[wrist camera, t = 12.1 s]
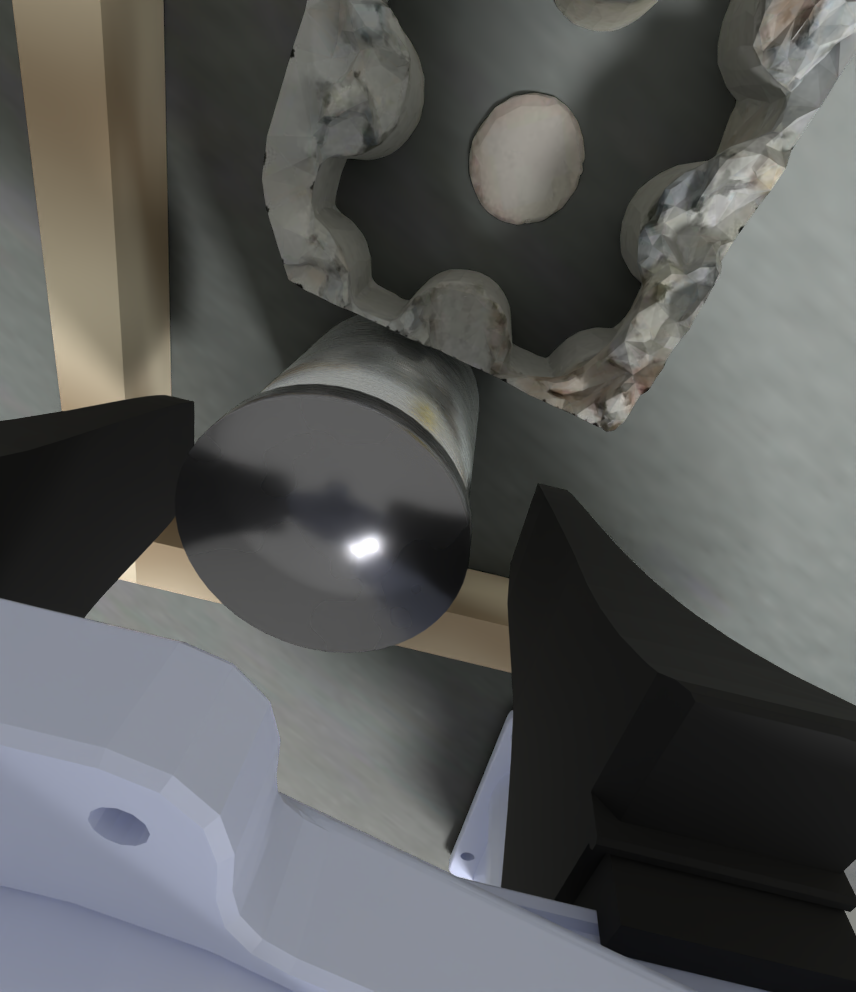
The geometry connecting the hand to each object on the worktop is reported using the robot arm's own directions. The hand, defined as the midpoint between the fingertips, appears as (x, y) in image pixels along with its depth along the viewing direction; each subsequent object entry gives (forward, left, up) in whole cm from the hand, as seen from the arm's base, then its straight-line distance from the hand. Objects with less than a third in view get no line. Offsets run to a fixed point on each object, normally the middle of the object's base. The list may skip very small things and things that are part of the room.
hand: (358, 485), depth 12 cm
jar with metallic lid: (+1, 0, -3) cm, 3 cm away
